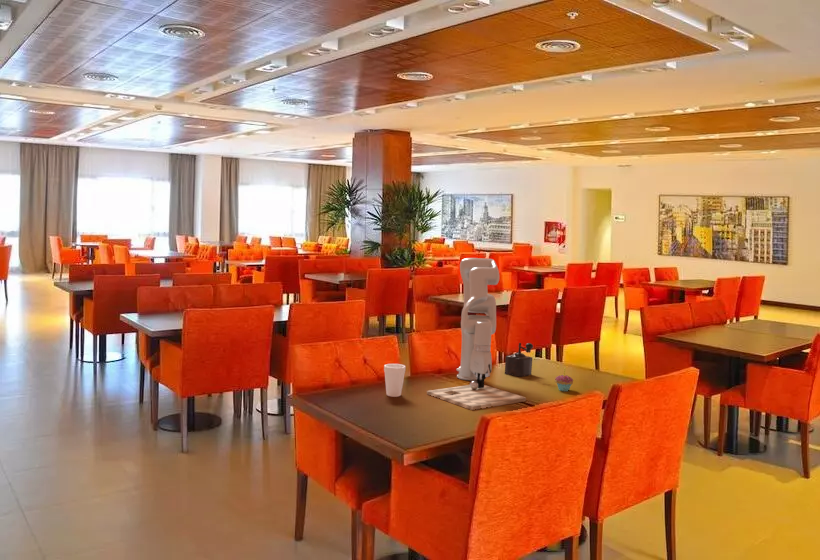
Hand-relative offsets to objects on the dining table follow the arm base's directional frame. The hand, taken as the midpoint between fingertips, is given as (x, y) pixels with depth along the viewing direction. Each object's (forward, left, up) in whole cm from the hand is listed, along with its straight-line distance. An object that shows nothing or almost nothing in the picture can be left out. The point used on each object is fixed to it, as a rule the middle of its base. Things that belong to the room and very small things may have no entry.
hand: (480, 387), depth 325 cm
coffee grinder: (-17, +45, -2) cm, 48 cm away
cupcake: (+16, +39, -2) cm, 42 cm away
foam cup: (-14, -39, -2) cm, 41 cm away
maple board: (+7, -9, -2) cm, 11 cm away
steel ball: (0, -4, +1) cm, 4 cm away
